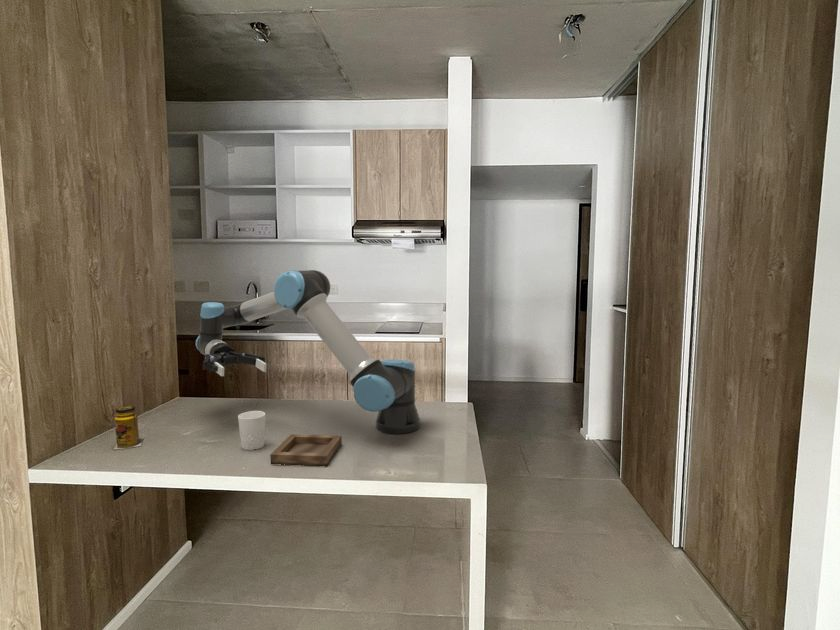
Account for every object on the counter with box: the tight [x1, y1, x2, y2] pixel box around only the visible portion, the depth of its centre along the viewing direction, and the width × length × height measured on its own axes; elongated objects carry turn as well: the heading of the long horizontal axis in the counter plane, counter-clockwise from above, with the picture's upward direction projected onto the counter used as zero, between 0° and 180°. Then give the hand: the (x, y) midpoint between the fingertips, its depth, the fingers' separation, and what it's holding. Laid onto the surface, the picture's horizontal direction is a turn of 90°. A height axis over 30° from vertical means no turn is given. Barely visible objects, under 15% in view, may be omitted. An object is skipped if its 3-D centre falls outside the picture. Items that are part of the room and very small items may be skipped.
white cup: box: [237, 410, 266, 451], centre depth 150 cm, size 8×8×10 cm
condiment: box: [113, 405, 145, 450], centre depth 153 cm, size 7×8×12 cm
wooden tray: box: [269, 433, 343, 468], centre depth 143 cm, size 16×16×3 cm
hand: (244, 370), depth 154 cm, fingers open, 13 cm apart
